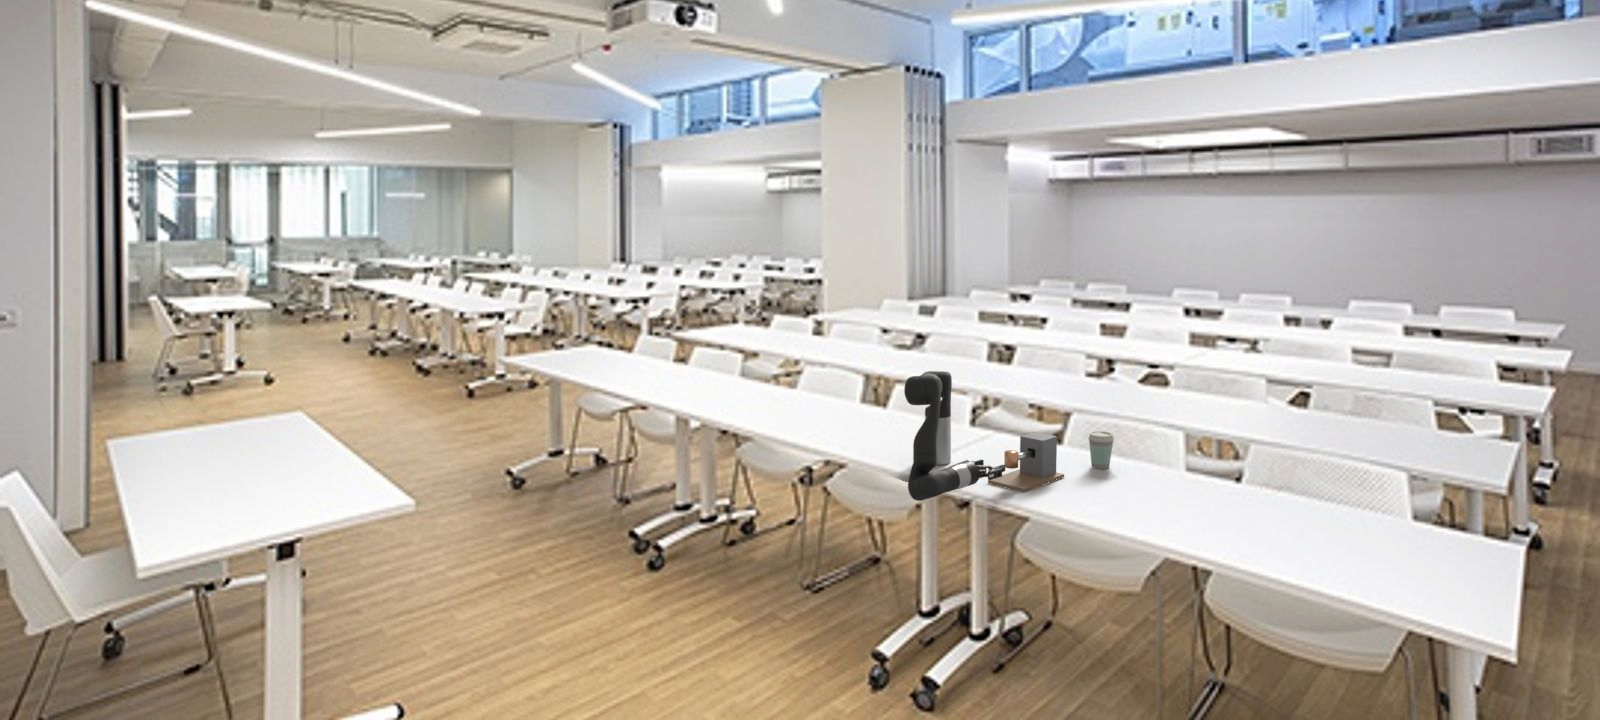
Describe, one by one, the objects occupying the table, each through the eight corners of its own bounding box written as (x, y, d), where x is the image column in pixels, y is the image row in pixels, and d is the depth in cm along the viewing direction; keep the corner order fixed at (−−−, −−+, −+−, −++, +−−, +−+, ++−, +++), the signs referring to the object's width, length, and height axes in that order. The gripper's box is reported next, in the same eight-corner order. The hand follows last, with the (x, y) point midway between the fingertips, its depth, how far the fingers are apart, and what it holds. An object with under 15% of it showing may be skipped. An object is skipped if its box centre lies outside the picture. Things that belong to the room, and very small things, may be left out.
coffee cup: (1114, 471, 312) (1115, 437, 310) (1088, 470, 313) (1089, 436, 312) (1111, 464, 320) (1112, 431, 318) (1086, 463, 322) (1087, 430, 320)
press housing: (1023, 492, 291) (1023, 450, 289) (988, 483, 301) (988, 442, 299) (1064, 477, 306) (1065, 437, 303) (1029, 469, 316) (1029, 430, 314)
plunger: (1012, 469, 294) (1012, 454, 293) (1001, 466, 297) (1001, 451, 296) (1037, 461, 303) (1038, 446, 302) (1026, 458, 306) (1026, 444, 305)
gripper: (979, 468, 274) (1011, 458, 285) (943, 459, 285) (975, 449, 295) (979, 492, 275) (1011, 481, 286) (943, 482, 286) (975, 472, 297)
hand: (993, 465), depth 291 cm, fingers open, 8 cm apart
